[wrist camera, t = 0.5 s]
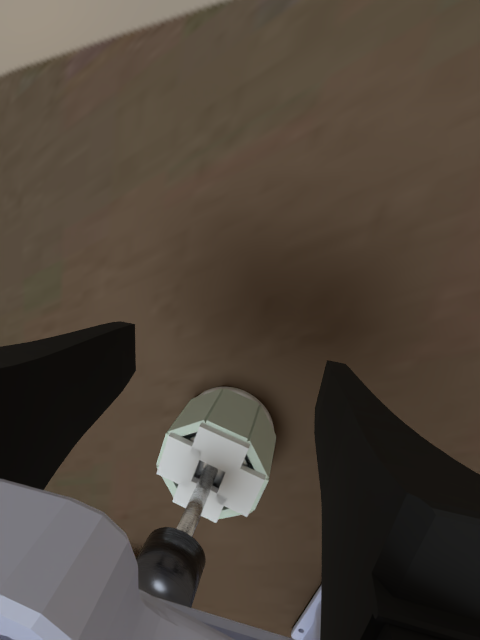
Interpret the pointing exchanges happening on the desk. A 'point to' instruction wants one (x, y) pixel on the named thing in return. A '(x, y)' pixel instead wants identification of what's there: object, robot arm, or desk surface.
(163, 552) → the plunger
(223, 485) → the faceted mint canister
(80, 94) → the desk surface
